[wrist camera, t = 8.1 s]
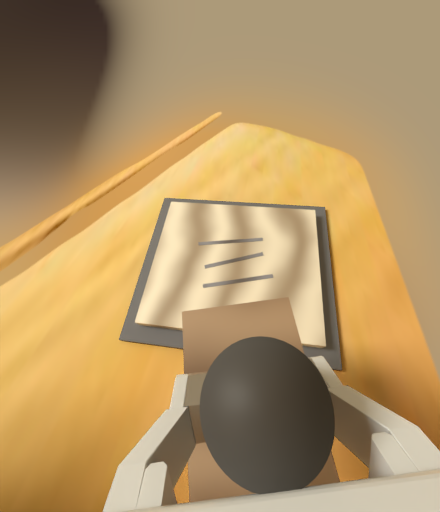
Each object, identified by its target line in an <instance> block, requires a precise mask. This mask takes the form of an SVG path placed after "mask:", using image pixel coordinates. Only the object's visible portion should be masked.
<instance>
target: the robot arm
mask: <svg viewBox="0 0 440 512" xmlns="http://www.w3.org/2000/svg"><path fill="white" fill-rule="evenodd" d="M309 359H310V360H311V361H312V363H313V364H314V365H315V366H316V368H317V369H318V371H319V372H320V374H321V375H322V377H323V379H324V381H325V383H326V385H327V387H328V390H329V393H330V396H331V399H332V403H333V408H334V416H335V432H334V436H335V437H336V438H337V439H338V440H339V441H340V442H342V443H343V444H344V445H345V446H346V447H347V448H348V449H349V450H350V451H351V452H352V453H353V454H354V455H356V456H357V457H358V458H359V459H360V460H361V461H362V462H363V463H364V464H365V465H366V466H367V467H368V468H369V477H368V478H367V479H360V480H352V481H345V482H338V483H330V484H323V485H316V486H308V487H304V488H303V489H298V490H291V491H283V492H276V493H268V494H261V495H259V494H248V495H241V496H233V497H226V498H218V499H211V500H203V501H196V502H189V503H181V504H177V501H176V497H175V494H174V490H173V489H174V487H175V485H176V483H177V481H178V479H179V477H180V475H181V473H182V471H183V469H184V467H185V466H186V464H187V462H188V460H189V458H190V456H191V454H192V452H193V450H194V448H195V446H196V444H199V443H205V439H204V436H203V432H202V427H201V421H200V395H201V390H202V385H203V382H204V379H205V376H206V374H207V372H208V371H207V372H198V373H189V374H181V375H177V376H176V378H175V383H174V388H173V394H172V399H171V404H170V409H167V410H165V411H164V413H163V414H162V415H161V416H160V417H159V418H158V420H157V421H156V422H155V423H154V424H153V426H152V427H151V428H150V429H149V430H148V431H147V433H146V434H145V435H144V436H143V437H142V439H141V440H140V441H139V442H138V443H137V444H136V446H135V447H134V448H133V449H132V450H131V452H130V453H129V454H128V455H127V456H126V457H125V459H124V460H123V461H122V462H121V463H120V465H119V466H118V468H117V471H116V474H115V477H114V480H113V483H112V486H111V489H110V491H109V494H108V497H107V500H106V503H105V506H104V509H103V512H440V451H439V450H438V449H437V447H436V446H435V445H434V444H433V443H432V442H431V441H430V440H429V438H428V437H427V436H426V435H425V434H424V433H423V432H422V430H421V429H420V428H419V427H418V426H416V425H415V424H413V423H411V422H409V421H408V420H406V419H404V418H403V417H401V416H399V415H397V414H396V413H394V412H392V411H391V410H389V409H387V408H385V407H384V406H382V405H380V404H378V403H377V402H375V401H373V400H372V399H370V398H368V397H366V396H365V395H363V394H361V393H360V392H358V391H356V390H354V389H353V388H351V387H349V386H348V385H347V386H343V384H342V383H341V381H340V380H339V378H338V377H337V375H336V374H335V372H334V371H333V370H332V368H331V367H330V365H329V364H328V362H327V361H326V359H325V358H324V357H323V356H316V357H310V358H309Z"/></svg>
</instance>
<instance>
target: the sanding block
mask: <svg viewBox="0 0 440 512" xmlns="http://www.w3.org/2000/svg"><path fill="white" fill-rule="evenodd" d="M182 328H183V353H184V374H189V373H198V372H207V371H208V372H207V374H206V376H205V379H204V382H203V385H202V390H201V395H200V421H201V427H202V432H203V436H204V439H205V443H199V444H196V446H195V448H194V450H193V452H192V454H191V456H190V458H189V460H188V478H189V502H196V501H203V500H211V499H218V498H226V497H233V496H241V495H248V494H259V495H261V494H268V493H276V492H283V491H291V490H298V489H303V488H304V487H308V486H316V485H323V484H330V483H338V482H340V481H339V477H338V473H337V470H336V466H335V463H334V459H333V455H332V452H331V449H332V445H333V440H334V432H335V416H334V408H333V403H332V399H331V396H330V393H329V390H328V387H327V385H326V383H325V381H324V379H323V377H322V375H321V374H320V372H319V371H318V369H317V368H316V366H315V365H314V364H313V363H312V361H311V360H310V359H309V358H308V357H307V356H306V355H305V354H304V351H303V347H302V344H301V340H300V336H299V333H298V329H297V326H296V322H295V318H294V315H293V311H292V308H291V304H290V300H289V297H285V298H278V299H271V300H263V301H256V302H249V303H241V304H234V305H227V306H219V307H212V308H205V309H197V310H190V311H183V312H182Z"/></svg>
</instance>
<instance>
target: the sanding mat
mask: <svg viewBox="0 0 440 512" xmlns="http://www.w3.org/2000/svg"><path fill="white" fill-rule="evenodd" d="M171 202H187V203H204V204H221V205H238V206H255V207H272V208H289V209H306V210H315V214H316V226H317V239H318V252H319V264H320V277H321V289H322V302H323V314H324V327H325V339H326V347H323V348H316V347H308V346H302V347H303V351H304V354H305V355H306V356H307V357H308V358H310V357H316V356H323V357H324V358H325V359H326V361H327V362H328V364H329V365H330V367H331V368H332V369H333V370H342V364H341V355H340V345H339V336H338V326H337V317H336V308H335V298H334V289H333V279H332V270H331V260H330V251H329V241H328V232H327V222H326V213H325V207H314V206H297V205H279V204H261V203H244V202H226V201H208V200H191V199H173V198H165V199H164V202H163V205H162V208H161V211H160V214H159V217H158V220H157V223H156V226H155V230H154V233H153V236H152V239H151V242H150V245H149V248H148V251H147V254H146V257H145V260H144V264H143V267H142V270H141V273H140V276H139V279H138V282H137V285H136V288H135V291H134V294H133V298H132V301H131V304H130V307H129V310H128V313H127V316H126V319H125V322H124V325H123V328H122V332H121V335H120V338H119V340H122V341H129V342H136V343H144V344H151V345H158V346H166V347H173V348H180V349H183V331H182V330H174V329H166V328H158V327H151V326H143V325H138V324H137V323H135V319H136V316H137V312H138V309H139V306H140V303H141V299H142V296H143V293H144V289H145V286H146V283H147V280H148V276H149V273H150V270H151V266H152V263H153V260H154V256H155V253H156V250H157V247H158V243H159V240H160V237H161V233H162V230H163V227H164V223H165V220H166V217H167V214H168V210H169V207H170V204H171Z"/></svg>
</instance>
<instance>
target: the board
mask: <svg viewBox="0 0 440 512" xmlns="http://www.w3.org/2000/svg"><path fill="white" fill-rule="evenodd" d="M285 297H289V300H290V304H291V308H292V311H293V315H294V318H295V322H296V326H297V329H298V333H299V336H300V340H301V344H302V346H308V347H316V348H323V347H326V339H325V327H324V314H323V302H322V289H321V277H320V264H319V252H318V239H317V226H316V214H315V210H306V209H289V208H272V207H255V206H238V205H221V204H204V203H187V202H171V204H170V207H169V210H168V214H167V217H166V220H165V223H164V227H163V230H162V233H161V237H160V240H159V243H158V247H157V250H156V253H155V256H154V260H153V263H152V266H151V270H150V273H149V276H148V280H147V283H146V286H145V289H144V293H143V296H142V299H141V303H140V306H139V309H138V312H137V316H136V319H135V323H137V324H138V325H143V326H151V327H158V328H166V329H174V330H182V331H183V328H182V312H183V311H190V310H197V309H205V308H212V307H219V306H227V305H234V304H241V303H249V302H256V301H263V300H271V299H278V298H285Z"/></svg>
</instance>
